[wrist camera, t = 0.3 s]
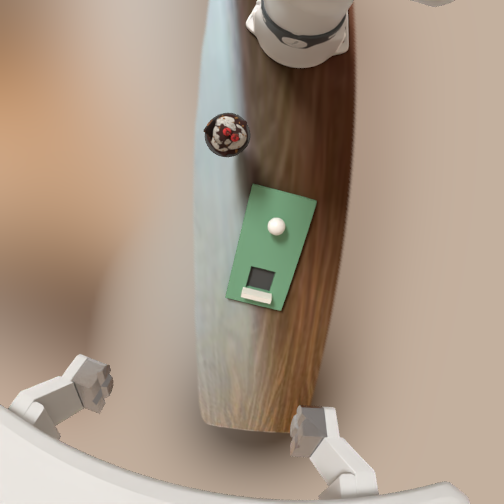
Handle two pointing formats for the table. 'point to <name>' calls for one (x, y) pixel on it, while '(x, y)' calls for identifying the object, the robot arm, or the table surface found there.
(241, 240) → the green
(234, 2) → the table surface
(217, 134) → the sundae
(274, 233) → the ball
